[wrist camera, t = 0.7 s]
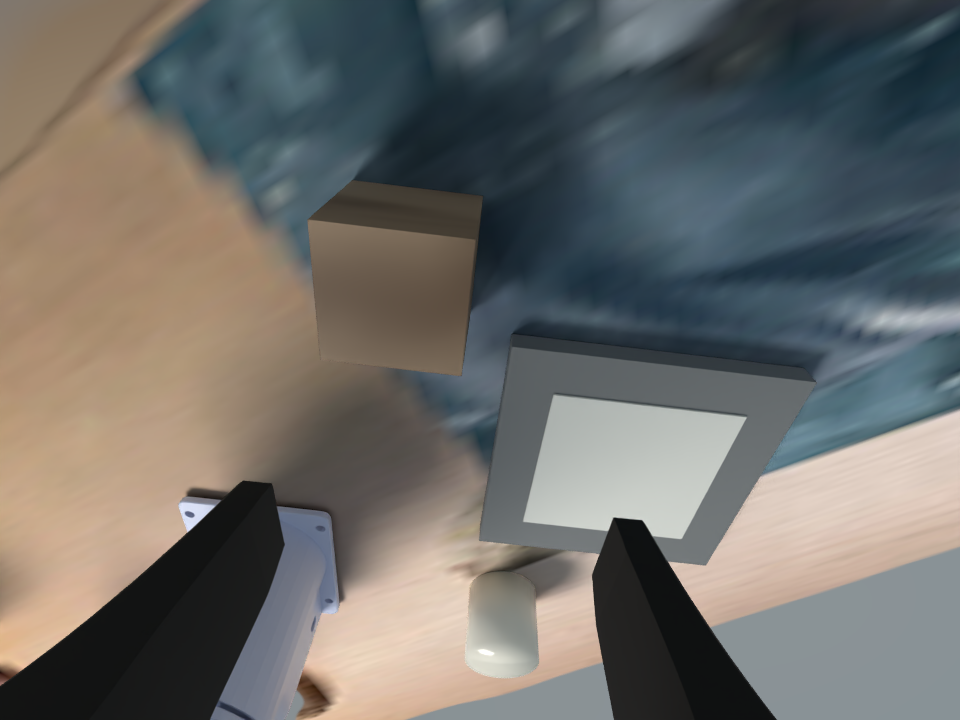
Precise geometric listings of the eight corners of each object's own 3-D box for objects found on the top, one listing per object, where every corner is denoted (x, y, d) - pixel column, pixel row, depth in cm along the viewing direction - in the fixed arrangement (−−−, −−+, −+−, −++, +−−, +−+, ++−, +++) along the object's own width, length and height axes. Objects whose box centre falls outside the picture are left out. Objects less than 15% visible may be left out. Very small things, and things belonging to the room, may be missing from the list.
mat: (699, 548, 26) (706, 567, 25) (480, 524, 26) (479, 542, 25) (804, 368, 20) (818, 383, 19) (512, 333, 20) (512, 348, 19)
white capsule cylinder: (529, 611, 31) (532, 681, 27) (466, 605, 31) (461, 674, 27) (540, 574, 28) (544, 645, 25) (473, 567, 28) (468, 637, 25)
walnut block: (470, 310, 19) (461, 376, 15) (357, 297, 19) (320, 359, 15) (483, 195, 17) (475, 239, 13) (353, 179, 17) (307, 219, 13)
